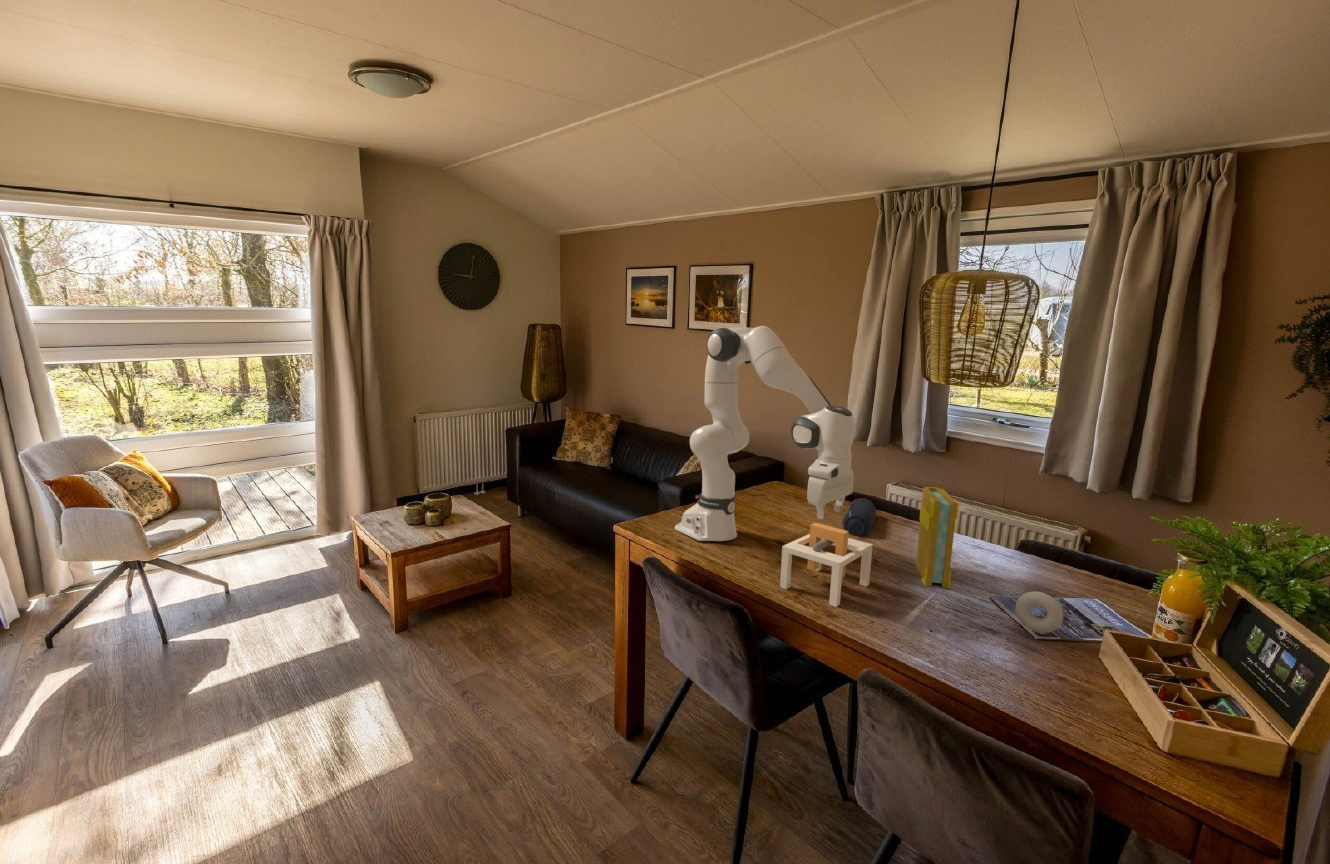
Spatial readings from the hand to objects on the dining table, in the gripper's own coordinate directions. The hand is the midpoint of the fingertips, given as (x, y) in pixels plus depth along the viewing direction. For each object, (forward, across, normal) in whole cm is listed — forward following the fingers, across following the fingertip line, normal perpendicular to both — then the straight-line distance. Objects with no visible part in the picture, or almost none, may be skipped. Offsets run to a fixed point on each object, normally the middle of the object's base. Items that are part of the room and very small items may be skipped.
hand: (829, 514), depth 164 cm
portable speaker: (+21, -54, -15) cm, 60 cm away
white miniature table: (+21, 0, 0) cm, 21 cm away
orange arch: (+17, 0, 0) cm, 17 cm away
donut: (+20, -13, +50) cm, 55 cm away
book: (+21, -30, +19) cm, 41 cm away
